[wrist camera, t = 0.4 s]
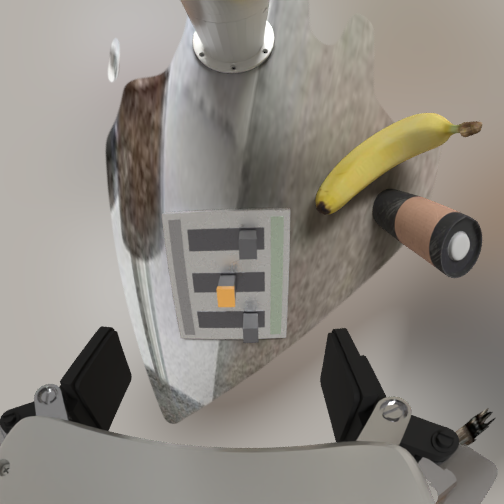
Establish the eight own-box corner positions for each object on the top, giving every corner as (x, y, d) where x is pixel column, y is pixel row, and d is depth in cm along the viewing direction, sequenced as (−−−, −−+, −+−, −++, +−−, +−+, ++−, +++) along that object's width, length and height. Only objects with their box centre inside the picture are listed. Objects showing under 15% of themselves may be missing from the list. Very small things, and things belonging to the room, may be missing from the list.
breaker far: (243, 313, 48) (242, 328, 43) (257, 313, 48) (258, 328, 43) (244, 327, 49) (243, 342, 45) (257, 326, 49) (258, 342, 45)
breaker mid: (219, 275, 45) (216, 289, 40) (235, 274, 45) (234, 289, 40) (221, 291, 46) (218, 307, 41) (236, 291, 46) (235, 307, 41)
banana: (320, 216, 44) (368, 266, 25) (298, 189, 42) (335, 220, 23) (414, 137, 38) (495, 141, 20) (396, 109, 37) (475, 97, 18)
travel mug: (381, 238, 45) (446, 291, 26) (363, 201, 43) (432, 239, 24) (413, 216, 43) (486, 256, 25) (397, 179, 41) (476, 203, 22)
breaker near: (239, 230, 42) (238, 239, 38) (256, 229, 42) (256, 238, 38) (240, 248, 43) (239, 259, 39) (256, 248, 43) (257, 259, 39)
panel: (164, 212, 43) (161, 214, 42) (288, 207, 43) (290, 209, 42) (182, 333, 52) (180, 338, 50) (285, 332, 51) (286, 337, 50)
